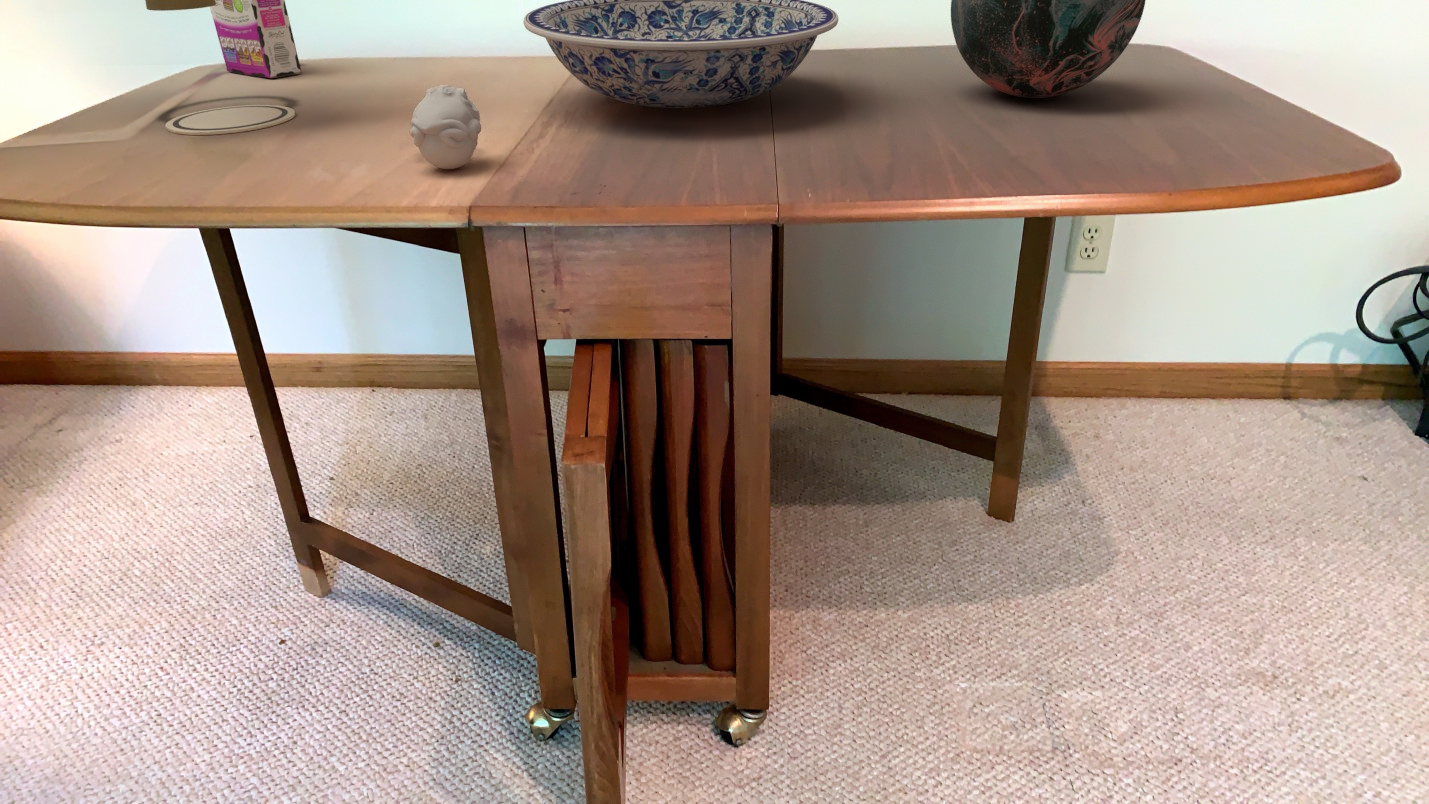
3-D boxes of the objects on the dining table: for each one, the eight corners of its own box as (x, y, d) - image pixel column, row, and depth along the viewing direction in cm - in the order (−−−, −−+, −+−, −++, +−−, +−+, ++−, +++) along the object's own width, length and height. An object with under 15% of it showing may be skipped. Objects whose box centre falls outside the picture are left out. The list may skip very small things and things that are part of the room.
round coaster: (148, 138, 92) (147, 135, 92) (186, 111, 103) (185, 108, 103) (281, 130, 94) (281, 127, 94) (305, 104, 105) (304, 101, 105)
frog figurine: (500, 158, 83) (489, 80, 79) (465, 180, 77) (452, 96, 74) (440, 155, 84) (427, 78, 81) (402, 176, 78) (386, 94, 75)
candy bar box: (305, 73, 122) (273, -61, 114) (271, 79, 119) (236, -59, 111) (259, 66, 128) (225, -62, 120) (225, 72, 124) (188, -60, 116)
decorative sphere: (923, 81, 110) (940, -104, 100) (1082, 77, 111) (1115, -108, 101) (969, 118, 93) (996, -100, 83) (1157, 113, 94) (1207, -105, 84)
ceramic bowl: (584, 156, 83) (574, 41, 78) (503, 90, 110) (492, 2, 105) (894, 116, 95) (902, 14, 90) (752, 65, 122) (752, -15, 117)
